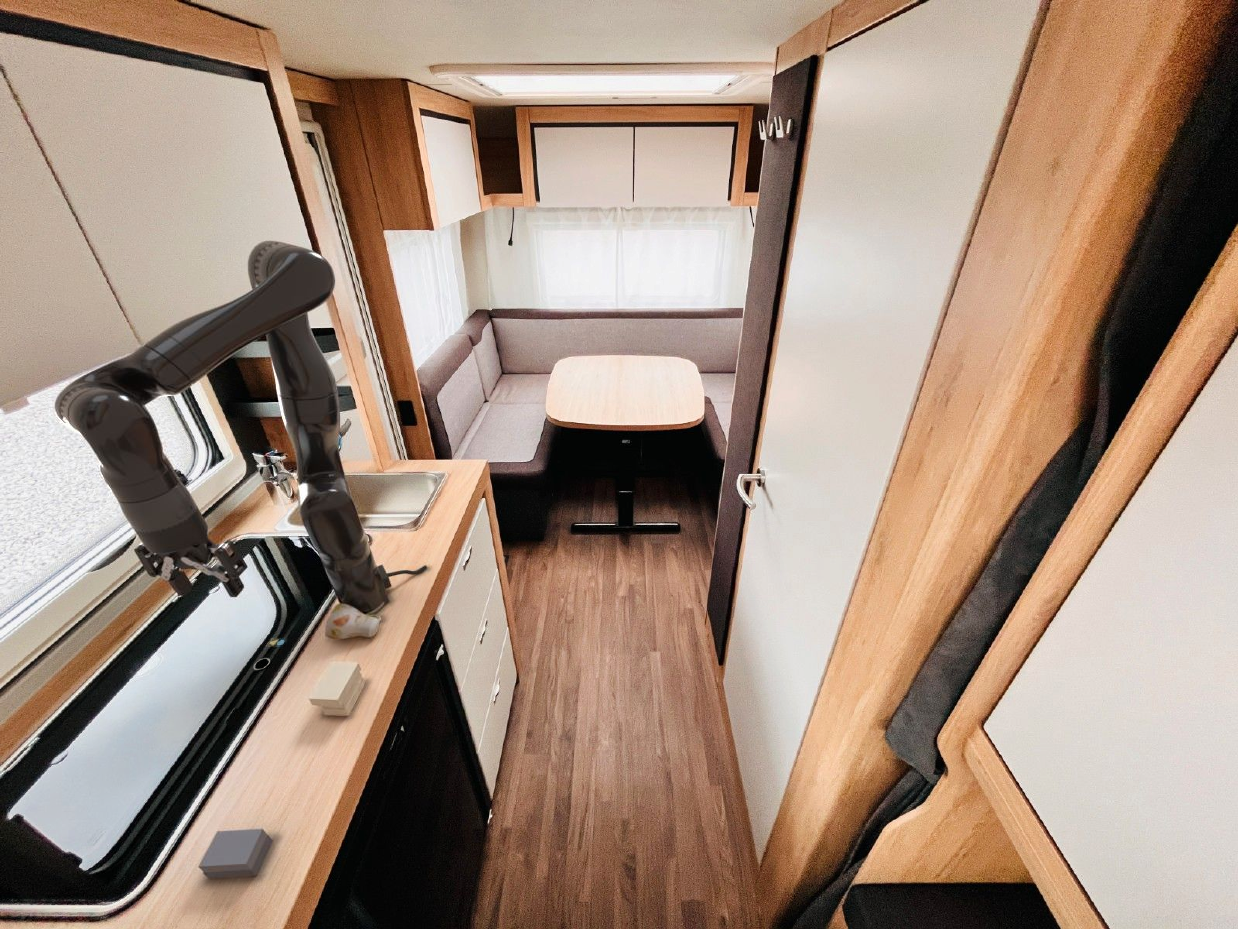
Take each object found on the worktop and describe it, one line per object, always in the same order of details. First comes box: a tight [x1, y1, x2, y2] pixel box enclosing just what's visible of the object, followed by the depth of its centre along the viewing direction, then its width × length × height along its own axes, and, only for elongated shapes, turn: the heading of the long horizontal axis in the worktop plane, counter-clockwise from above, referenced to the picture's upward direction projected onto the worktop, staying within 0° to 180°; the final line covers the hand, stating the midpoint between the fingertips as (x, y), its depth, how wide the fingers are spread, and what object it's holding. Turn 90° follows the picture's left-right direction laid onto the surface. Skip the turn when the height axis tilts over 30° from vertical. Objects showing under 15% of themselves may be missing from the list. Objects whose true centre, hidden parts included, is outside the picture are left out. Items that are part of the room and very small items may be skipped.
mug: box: [324, 603, 382, 640], centre depth 106 cm, size 8×10×10 cm
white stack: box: [321, 671, 366, 717], centre depth 94 cm, size 7×4×4 cm
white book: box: [308, 660, 362, 707], centre depth 92 cm, size 8×5×2 cm
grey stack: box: [197, 828, 273, 880], centre depth 73 cm, size 7×4×4 cm
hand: (212, 592), depth 82 cm, fingers open, 8 cm apart
